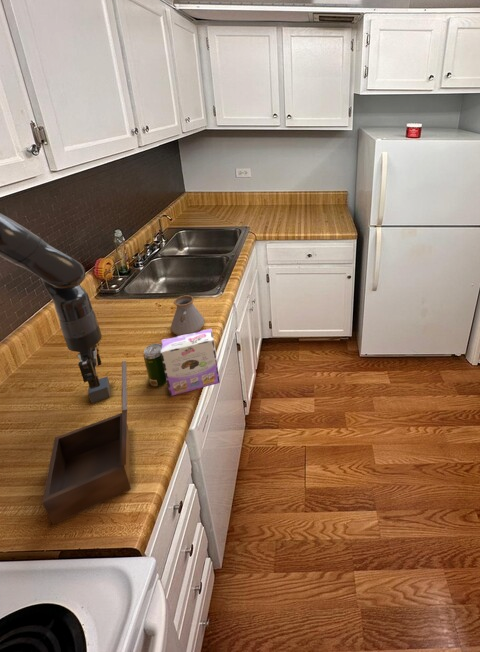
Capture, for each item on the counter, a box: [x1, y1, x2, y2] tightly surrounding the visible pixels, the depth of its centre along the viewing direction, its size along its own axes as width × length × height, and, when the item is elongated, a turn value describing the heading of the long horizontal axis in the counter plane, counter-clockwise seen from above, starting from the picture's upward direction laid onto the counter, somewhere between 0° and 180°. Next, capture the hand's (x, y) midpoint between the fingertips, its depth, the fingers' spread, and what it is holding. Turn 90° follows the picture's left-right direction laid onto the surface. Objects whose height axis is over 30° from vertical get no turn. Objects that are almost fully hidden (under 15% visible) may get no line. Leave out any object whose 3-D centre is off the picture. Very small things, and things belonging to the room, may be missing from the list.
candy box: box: [160, 328, 221, 397], centre depth 95 cm, size 14×6×16 cm, turn 111°
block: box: [87, 376, 111, 404], centre depth 93 cm, size 4×4×4 cm
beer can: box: [143, 343, 167, 388], centre depth 96 cm, size 5×5×12 cm
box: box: [41, 412, 132, 526], centre depth 73 cm, size 14×15×8 cm
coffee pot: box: [170, 294, 205, 336], centre depth 113 cm, size 21×12×15 cm, turn 19°
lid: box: [121, 360, 128, 466], centre depth 72 cm, size 14×15×1 cm
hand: (96, 375), depth 91 cm, fingers open, 8 cm apart
